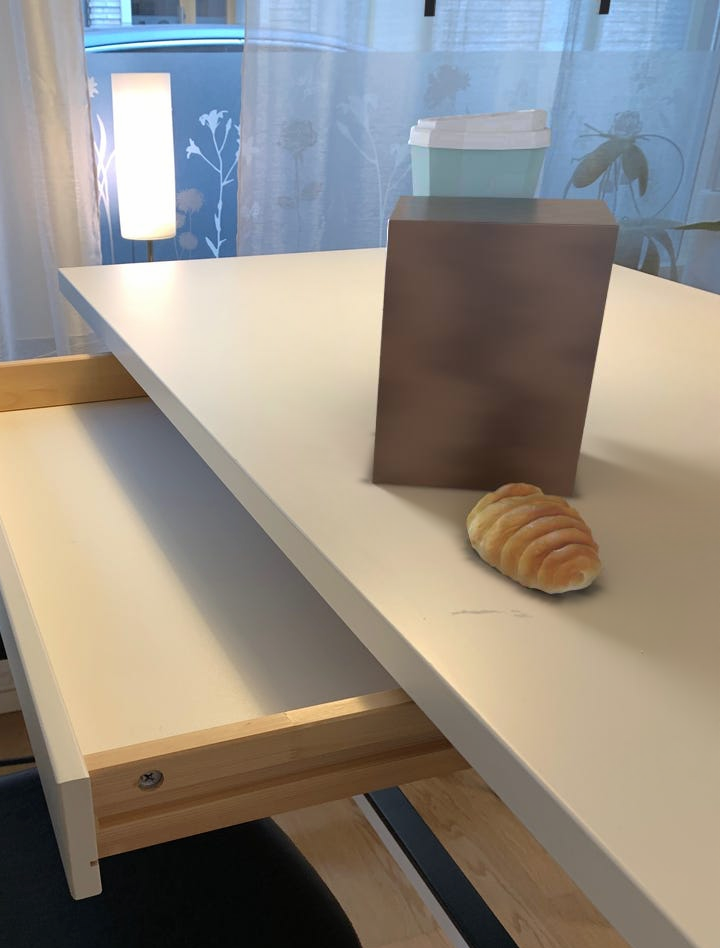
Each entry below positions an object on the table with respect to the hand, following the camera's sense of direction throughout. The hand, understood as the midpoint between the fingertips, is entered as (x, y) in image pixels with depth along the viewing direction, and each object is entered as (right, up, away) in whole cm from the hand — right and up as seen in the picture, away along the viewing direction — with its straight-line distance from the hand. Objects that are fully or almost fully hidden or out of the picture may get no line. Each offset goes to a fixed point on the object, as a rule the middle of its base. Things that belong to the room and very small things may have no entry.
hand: (514, 16), depth 82 cm
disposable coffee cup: (-4, -24, 0) cm, 25 cm away
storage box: (-3, -34, 0) cm, 34 cm away
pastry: (-4, -46, -19) cm, 50 cm away
